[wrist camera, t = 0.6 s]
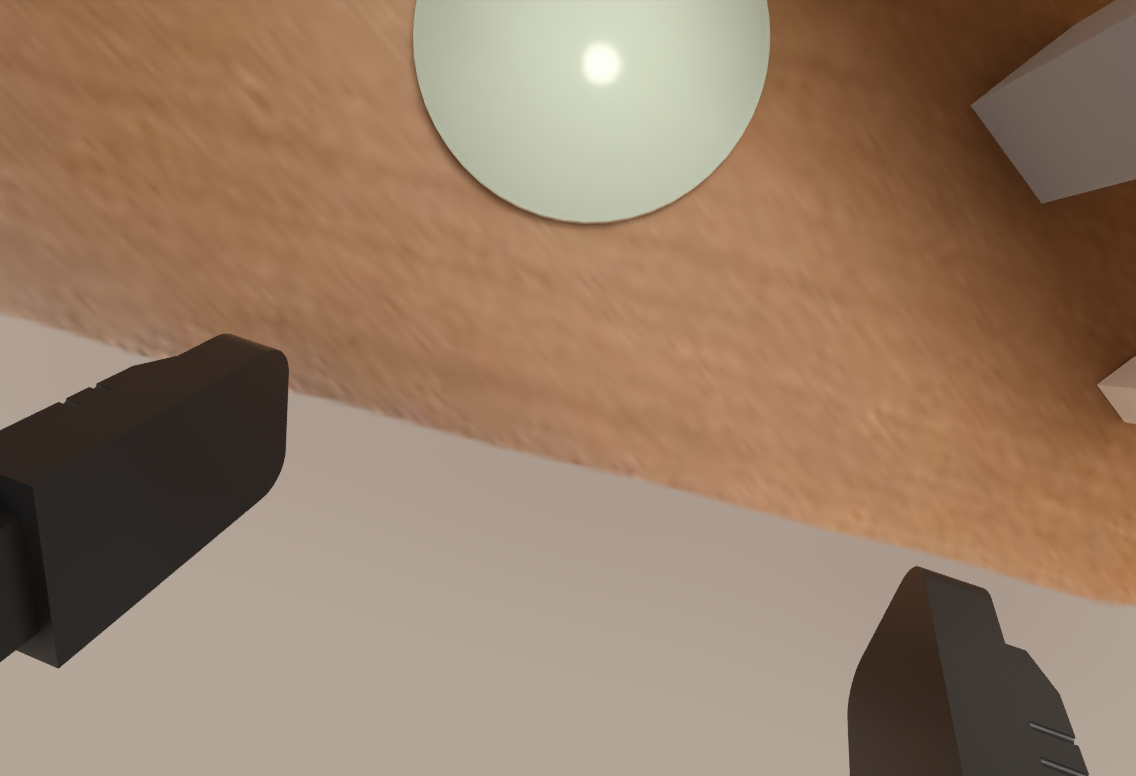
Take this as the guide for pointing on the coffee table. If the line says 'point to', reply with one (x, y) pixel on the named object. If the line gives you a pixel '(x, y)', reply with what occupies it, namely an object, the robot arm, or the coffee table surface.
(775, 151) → the coffee table surface
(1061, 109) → the block
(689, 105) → the plate
